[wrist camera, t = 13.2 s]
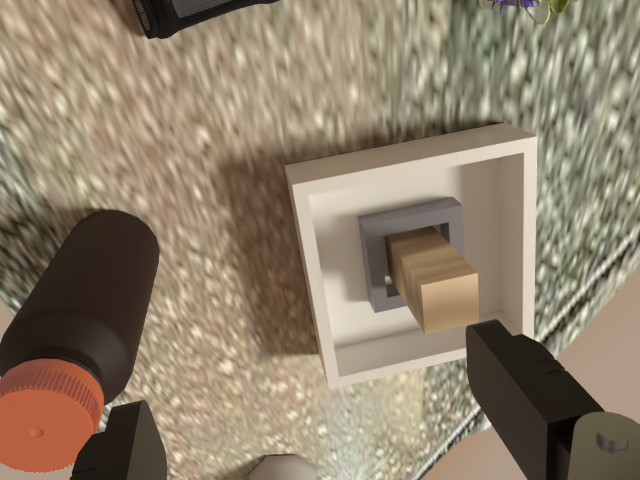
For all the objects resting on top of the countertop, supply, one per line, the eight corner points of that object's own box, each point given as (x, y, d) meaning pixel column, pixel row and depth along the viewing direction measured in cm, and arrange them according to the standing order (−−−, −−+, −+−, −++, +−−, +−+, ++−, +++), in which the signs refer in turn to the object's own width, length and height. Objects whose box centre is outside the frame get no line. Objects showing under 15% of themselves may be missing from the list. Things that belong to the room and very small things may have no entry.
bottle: (169, 220, 42) (130, 383, 24) (150, 295, 44) (101, 496, 26) (76, 198, 40) (-41, 356, 22) (61, 277, 42) (-56, 480, 24)
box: (284, 165, 42) (291, 184, 37) (504, 122, 44) (537, 136, 39) (319, 354, 49) (328, 389, 45) (505, 311, 51) (533, 341, 47)
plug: (384, 234, 45) (421, 285, 36) (430, 224, 45) (477, 273, 37) (388, 276, 46) (425, 334, 38) (433, 266, 47) (479, 322, 38)
